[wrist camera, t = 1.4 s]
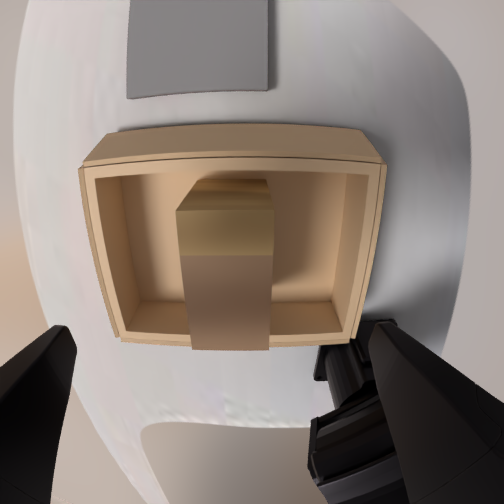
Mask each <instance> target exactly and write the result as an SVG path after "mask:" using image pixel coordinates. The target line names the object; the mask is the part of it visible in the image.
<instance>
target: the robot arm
mask: <svg viewBox="0 0 504 504" xmlns="http://www.w3.org/2000/svg"><path fill="white" fill-rule="evenodd" d="M76 355H77V347H76V344H75V341H74V339H73V337H72V335H71V333H70V330H69V328H68V327H67V326H63V325H54V326H53V327H51V328H50V329H49V330H47V331H46V332H45V333H43V334H42V335H41V336H39V337H38V338H37V339H36V340H34V341H33V342H32V343H30V344H29V345H28V346H26V347H25V348H24V349H23V350H21V351H20V352H19V353H18V354H16V355H15V356H14V357H12V358H11V359H10V360H9V361H7V362H6V363H5V364H4V365H3V366H1V367H0V504H50V501H51V492H52V482H53V476H54V469H55V463H56V457H57V451H58V445H59V440H60V435H61V430H62V426H63V421H64V416H65V412H66V408H67V404H68V399H69V395H70V389H71V383H72V377H73V371H74V366H75V360H76ZM313 376H314V380H315V381H328V383H329V387H330V391H331V395H332V399H333V403H334V407H335V410H333V411H331V412H329V413H327V414H325V415H323V416H321V417H316V418H314V419H312V420H311V428H310V441H309V453H308V470H309V471H310V474H311V476H312V479H313V481H314V482H315V484H316V485H317V487H318V488H319V490H320V491H321V492H322V494H323V495H324V497H325V498H326V500H327V502H328V504H504V403H503V402H501V401H500V400H498V399H497V398H495V397H494V396H492V395H491V394H490V393H488V392H487V391H485V390H484V389H483V388H481V387H480V386H479V385H477V384H475V383H474V382H473V381H472V380H470V379H469V378H468V377H466V376H465V375H464V374H462V373H461V372H460V371H458V370H457V369H455V368H454V367H452V366H451V365H450V364H448V363H447V362H446V361H444V360H443V359H442V358H440V357H439V356H437V355H436V354H435V353H433V352H432V351H431V350H429V349H428V348H426V347H425V346H424V345H422V344H421V343H419V342H418V341H417V340H415V339H414V338H412V337H411V336H410V335H408V334H407V333H405V332H404V331H403V330H401V329H400V328H398V327H397V323H396V321H395V320H394V319H388V320H376V321H363V322H359V325H358V329H357V333H356V337H355V339H353V338H351V336H350V339H349V343H343V344H329V345H319V350H318V355H317V360H316V365H315V370H314V374H313Z"/></svg>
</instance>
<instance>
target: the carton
mask: <svg viewBox="0 0 504 504" xmlns="http://www.w3.org/2000/svg"><path fill="white" fill-rule="evenodd" d="M386 171H387V164H386V163H385V161H384V160H383V159H382V157H381V156H380V155H379V153H378V152H377V151H376V149H375V148H374V147H373V145H372V144H371V143H370V142H369V140H368V139H367V138H366V136H365V135H364V134H363V133H362V131H361V130H356V129H346V128H336V127H324V126H310V125H291V124H204V125H186V126H171V127H160V128H149V129H140V130H131V131H123V132H116V133H109V134H106V135H105V137H104V138H103V139H102V140H101V141H100V142H99V143H98V144H97V146H96V147H95V148H94V149H93V150H92V151H91V153H90V154H89V155H88V156H87V157H86V158H85V160H84V161H83V165H82V166H81V167H80V168H79V169H78V174H79V182H80V189H81V196H82V203H83V209H84V215H85V220H86V226H87V231H88V236H89V241H90V246H91V251H92V255H93V260H94V264H95V268H96V272H97V276H98V280H99V284H100V288H101V291H102V295H103V299H104V302H105V306H106V309H107V312H108V316H109V319H110V322H111V325H112V328H113V331H114V334H115V337H120V338H121V342H128V343H140V344H154V345H170V346H192V344H191V338H190V332H189V325H188V318H187V311H186V304H185V297H184V289H183V281H182V273H181V264H180V255H179V246H178V236H177V225H176V214H175V211H176V209H177V208H178V206H179V205H180V204H181V202H182V201H183V199H184V198H185V197H186V195H187V194H188V192H189V191H190V190H191V188H192V187H193V185H194V184H195V183H196V181H197V180H211V179H266V181H267V185H268V188H269V192H270V195H271V198H272V202H273V205H274V209H275V222H274V250H273V275H272V297H271V318H270V337H269V347H291V346H313V345H329V344H343V343H349V339H350V336H351V338H353V339H355V337H356V333H357V329H358V325H359V322H360V318H361V314H362V310H363V305H364V301H365V297H366V293H367V288H368V283H369V279H370V274H371V269H372V264H373V259H374V254H375V248H376V243H377V237H378V231H379V225H380V218H381V212H382V204H383V197H384V189H385V181H386Z"/></svg>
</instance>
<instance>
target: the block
mask: <svg viewBox="0 0 504 504" xmlns="http://www.w3.org/2000/svg"><path fill="white" fill-rule="evenodd" d="M175 214H176V225H177V236H178V246H179V255H180V264H181V273H182V281H183V289H184V297H185V304H186V311H187V318H188V325H189V332H190V338H191V344H192V350H269V337H270V318H271V297H272V275H273V250H274V222H275V209H274V205H273V202H272V198H271V195H270V192H269V188H268V185H267V181H266V179H211V180H197V181H196V183H195V184H194V185H193V187H192V188H191V190H190V191H189V192H188V194H187V195H186V197H185V198H184V199H183V201H182V202H181V204H180V205H179V206H178V208H177V209H176V211H175Z"/></svg>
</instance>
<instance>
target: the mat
mask: <svg viewBox="0 0 504 504" xmlns="http://www.w3.org/2000/svg"><path fill="white" fill-rule="evenodd" d="M267 90H268V0H130V11H129V23H128V41H127V99H139V98H146V97H154V96H163V95H173V94H185V93H200V92H222V91H267Z"/></svg>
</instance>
